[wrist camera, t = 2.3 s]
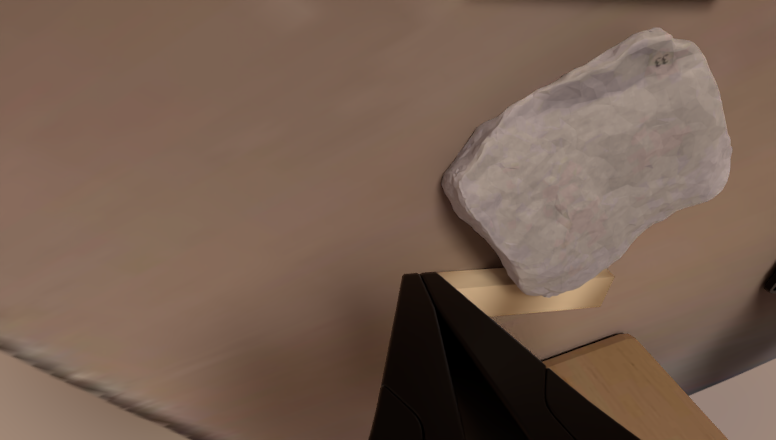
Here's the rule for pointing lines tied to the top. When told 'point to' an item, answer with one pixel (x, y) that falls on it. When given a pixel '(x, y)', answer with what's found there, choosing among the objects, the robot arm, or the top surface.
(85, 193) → the top surface
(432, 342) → the robot arm
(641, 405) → the wooden block
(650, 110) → the stone block
